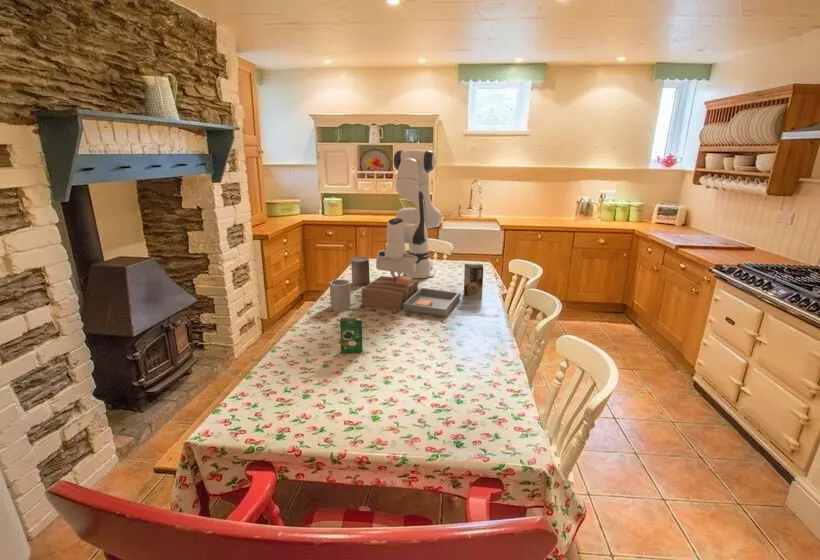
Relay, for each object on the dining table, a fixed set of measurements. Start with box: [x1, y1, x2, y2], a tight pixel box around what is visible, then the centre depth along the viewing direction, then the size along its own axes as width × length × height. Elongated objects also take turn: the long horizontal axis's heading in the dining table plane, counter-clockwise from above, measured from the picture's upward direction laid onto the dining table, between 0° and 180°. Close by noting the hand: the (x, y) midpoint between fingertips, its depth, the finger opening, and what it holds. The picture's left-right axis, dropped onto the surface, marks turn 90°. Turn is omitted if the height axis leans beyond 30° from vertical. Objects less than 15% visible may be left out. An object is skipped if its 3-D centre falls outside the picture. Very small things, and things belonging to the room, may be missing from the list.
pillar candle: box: [350, 256, 371, 287], centre depth 230 cm, size 10×10×15 cm
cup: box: [329, 278, 352, 311], centre depth 197 cm, size 9×9×12 cm
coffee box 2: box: [463, 263, 484, 300], centre depth 210 cm, size 9×6×16 cm
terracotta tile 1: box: [416, 299, 432, 307], centre depth 195 cm, size 6×6×2 cm
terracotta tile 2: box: [396, 275, 413, 285], centre depth 207 cm, size 6×6×2 cm
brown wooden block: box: [361, 275, 419, 311], centre depth 206 cm, size 22×20×8 cm
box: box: [402, 287, 461, 319], centre depth 199 cm, size 24×20×4 cm
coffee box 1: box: [339, 317, 363, 354], centre depth 154 cm, size 8×3×13 cm, turn 93°
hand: (396, 280), depth 209 cm, fingers closed
